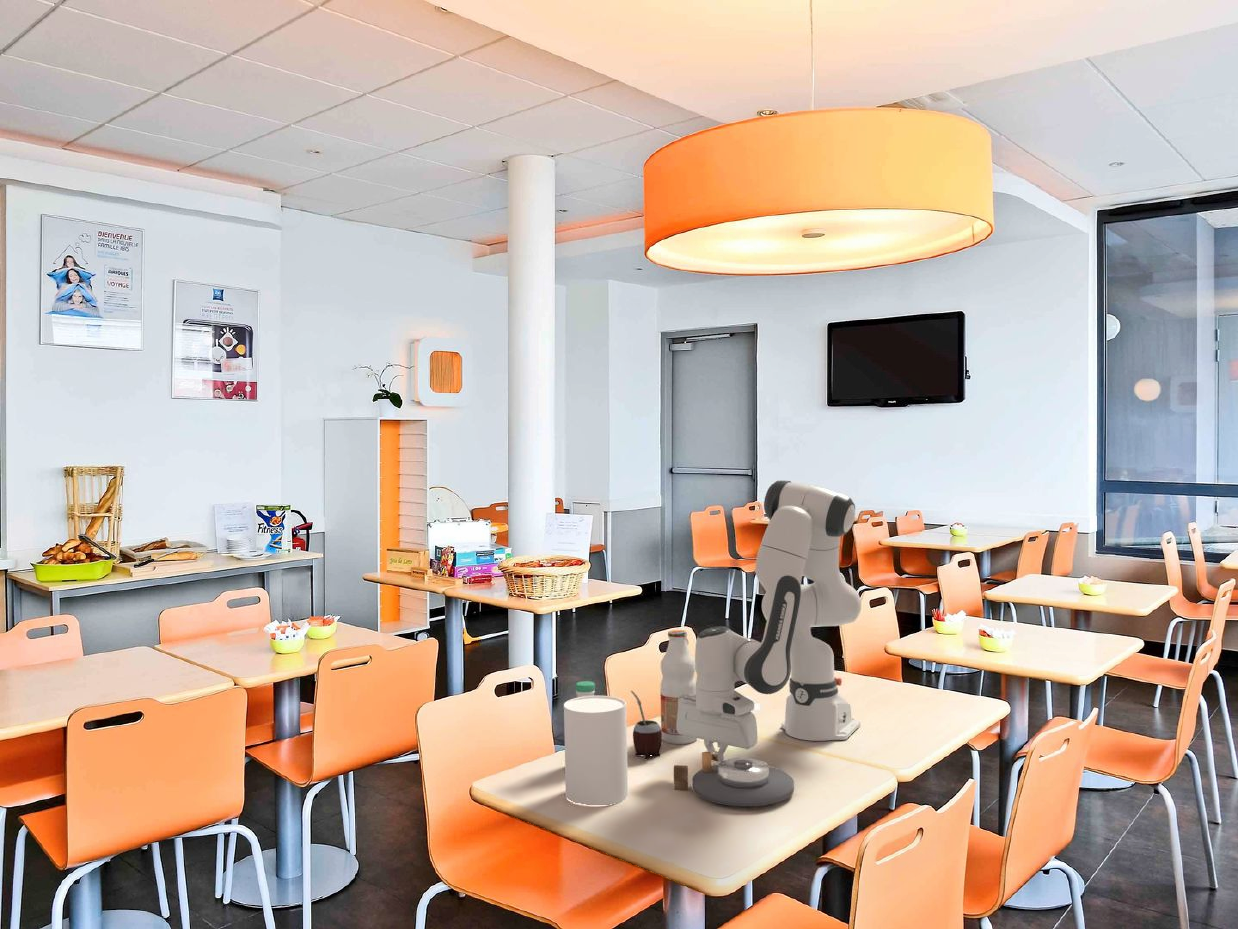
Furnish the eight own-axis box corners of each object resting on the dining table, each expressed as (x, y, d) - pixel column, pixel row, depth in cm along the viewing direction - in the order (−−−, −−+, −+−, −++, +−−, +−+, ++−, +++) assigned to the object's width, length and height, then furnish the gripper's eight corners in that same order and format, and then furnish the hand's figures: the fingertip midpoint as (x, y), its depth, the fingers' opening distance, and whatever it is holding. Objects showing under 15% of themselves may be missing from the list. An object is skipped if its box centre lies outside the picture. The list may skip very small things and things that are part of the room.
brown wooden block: (688, 788, 205) (687, 765, 205) (687, 790, 203) (687, 768, 203) (674, 787, 205) (674, 765, 205) (674, 790, 204) (673, 767, 204)
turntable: (729, 763, 218) (728, 739, 218) (812, 783, 203) (812, 758, 203) (672, 790, 201) (671, 765, 201) (758, 814, 187) (758, 787, 187)
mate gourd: (660, 761, 223) (659, 699, 223) (628, 760, 224) (626, 698, 224) (663, 751, 231) (662, 691, 230) (632, 750, 232) (631, 690, 232)
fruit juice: (678, 747, 233) (676, 636, 233) (653, 739, 240) (651, 631, 240) (705, 739, 239) (703, 631, 238) (680, 731, 246) (678, 626, 246)
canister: (639, 790, 204) (637, 700, 204) (607, 811, 193) (605, 715, 192) (587, 780, 211) (585, 693, 211) (553, 800, 199) (551, 707, 199)
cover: (736, 768, 210) (736, 751, 210) (778, 778, 203) (778, 761, 203) (708, 781, 202) (707, 764, 202) (750, 793, 194) (750, 775, 194)
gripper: (670, 695, 214) (671, 755, 214) (745, 710, 201) (746, 773, 201) (686, 690, 219) (687, 748, 219) (760, 703, 206) (761, 765, 206)
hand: (716, 760), depth 210 cm, fingers closed
